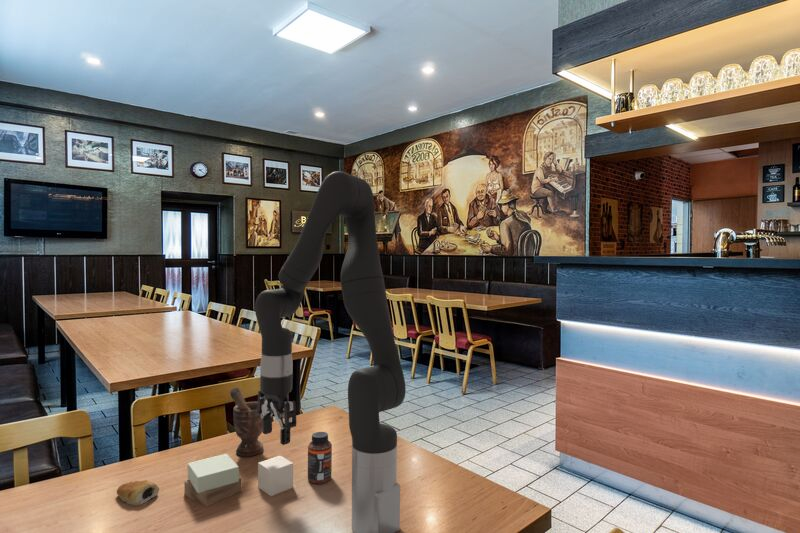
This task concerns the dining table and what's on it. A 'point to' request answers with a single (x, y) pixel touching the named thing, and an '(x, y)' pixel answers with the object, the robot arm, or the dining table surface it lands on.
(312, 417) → the dining table surface
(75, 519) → the dining table surface
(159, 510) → the dining table surface
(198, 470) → the upper block
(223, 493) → the lower block
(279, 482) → the cream block
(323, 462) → the supplement bottle
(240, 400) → the mortar and pestle
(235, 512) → the dining table surface
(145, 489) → the pastry
